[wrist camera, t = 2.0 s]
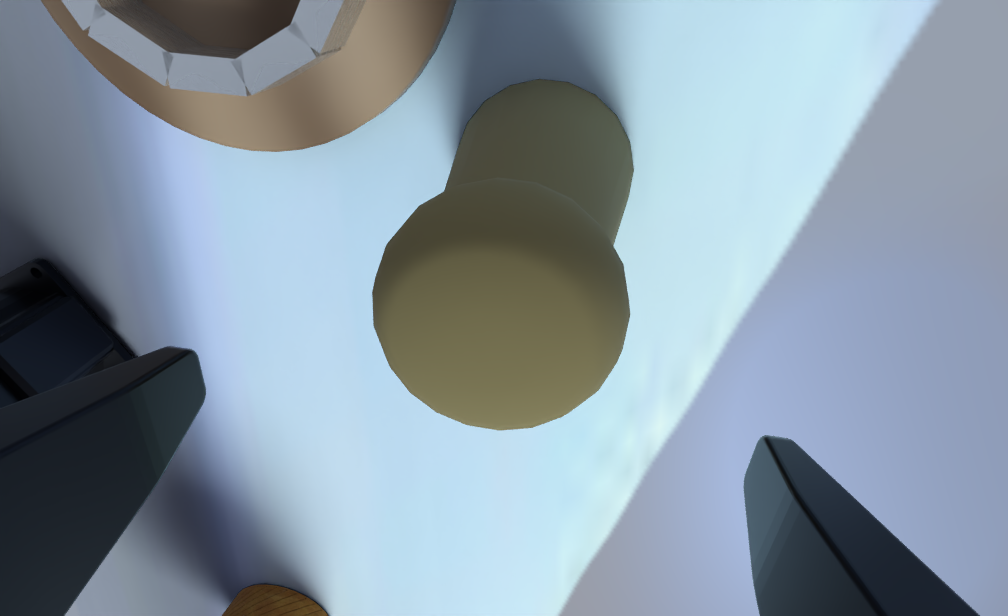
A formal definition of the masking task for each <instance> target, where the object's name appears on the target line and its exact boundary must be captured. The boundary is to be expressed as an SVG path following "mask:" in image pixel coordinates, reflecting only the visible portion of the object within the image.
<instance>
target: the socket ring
mask: <svg viewBox="0 0 1008 616" xmlns="http://www.w3.org/2000/svg"><path fill="white" fill-rule="evenodd" d="M61 1H62V2H63V3H64V5H65V6H66V8H67V9H68V10H69V12H70V13H71V14H72V16H73V17H74V19H75V20H76V21H77V23H78V24H79V26H80V27H81V28H82V30H83V31H84V30H89V34H88V36H90V37H91V38H93V39H94V40H96V41H97V42H99V43H100V44H102V45H103V46H105V47H106V48H108V49H109V50H111V51H112V52H114V53H115V54H117V55H118V56H120V57H121V58H123V59H124V60H126V61H127V62H129V63H130V64H132V65H133V66H135V67H136V68H138V69H139V70H141V71H142V72H144V73H145V74H147V75H148V76H150V77H151V78H153V79H154V80H156V81H157V82H159V83H160V84H162V85H163V86H167V85H169V86H170V88H172V89H181V90H191V91H200V92H210V93H219V94H229V95H238V96H249V95H254V94H257V93H260V92H263V91H265V90H268V89H271V88H274V87H276V86H279V85H282V84H283V83H285V82H287V81H289V80H290V79H292V78H294V77H295V76H297V75H299V74H301V73H302V72H304V71H306V70H308V69H309V68H311V67H313V66H314V65H316V64H318V63H320V62H321V61H323V60H325V59H327V58H328V57H330V56H332V55H333V54H335V53H337V52H339V51H340V50H341V48H340V47H343V46H345V45H346V42H347V40H348V38H349V36H350V34H351V32H352V30H353V28H354V25H355V23H356V21H357V19H358V17H359V15H360V13H361V10H362V8H363V6H364V4H365V2H366V0H300V3H299V5H298V7H297V10H296V12H295V15H294V17H293V20H292V22H291V24H290V25H289V26H288V27H286V28H284V29H283V30H281V31H280V32H278V33H276V34H275V35H273V36H272V37H270V38H268V39H267V40H265V41H263V42H262V43H260V44H259V45H257V46H255V47H254V48H252V49H251V50H249V49H239V48H228V47H218V46H208V45H204V44H202V43H201V42H200V41H198V40H197V39H195V38H194V37H192V36H191V35H189V34H188V33H186V32H185V31H183V30H182V29H181V28H179V27H178V26H176V25H175V24H173V23H172V22H170V21H169V20H167V19H166V18H164V17H163V16H162V15H160V14H159V13H157V12H156V11H154V10H153V9H151V8H150V7H148V6H147V5H145V4H144V2H143V1H142V0H61Z"/></svg>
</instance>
